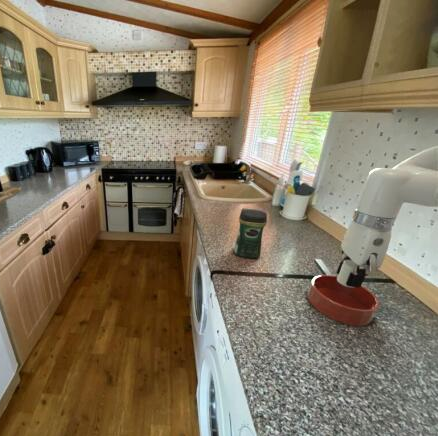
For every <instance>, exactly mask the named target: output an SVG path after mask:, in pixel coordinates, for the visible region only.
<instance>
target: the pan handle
mask: <svg viewBox="0 0 438 436" xmlns="http://www.w3.org/2000/svg"><path fill="white" fill-rule="evenodd" d="M313 263H314V264H315V266H316V267H317V269H318V270H319V271H320V273H321V275H332V276H334V274H333V273H332V272H331V270H330V269H329V268H328V267H327V265H326V264H325V263H324V261H323V260H322V259H320V258H314V260H313Z"/></svg>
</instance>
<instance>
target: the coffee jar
mask: <svg viewBox="0 0 438 436" xmlns="http://www.w3.org/2000/svg"><path fill="white" fill-rule="evenodd" d="M238 221H239V228H238V232H237V236H236V240H235V242H234V243H235V244H234V247H233V249H234V253H235V255H237V256H239V257H243V258H249V259H258V258H259V257H261V252H262V240H263V232H264V229H265V227H266V226H267V222H268V213H267V211H266V210H265V209H255V208H245V207H243V208H242V209H241V210H240V214H239V216H238Z"/></svg>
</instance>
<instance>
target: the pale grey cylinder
mask: <svg viewBox="0 0 438 436" xmlns="http://www.w3.org/2000/svg"><path fill="white" fill-rule="evenodd" d="M354 264H355V262H354V261H353V260H344V262H343V265H342V267H341V270H340V272H339V275H338V274H337V276H338V277H337V281H338V282H339V283H340V284H342V285H344V286H347V285H346V282H347V279H348V277H349V275H350V272H352V273H353V268H354ZM360 269H364V267H362V266H359V270H360ZM347 287H351V286H347ZM352 288H354V287H352Z"/></svg>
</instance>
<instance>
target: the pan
mask: <svg viewBox="0 0 438 436" xmlns="http://www.w3.org/2000/svg"><path fill="white" fill-rule="evenodd" d="M337 277H338V275H333V276H332V275H323V274H320V275H315V276H314V277H313V278H312V279H311V282H310V285H309V287H308V291H307V300H308V301H309V303H310V304H311V306H312V307H313V308H314V309H315V310H317V311H318V312H320V313H321V315H324V316H325V317H327V318H329V319H331V320H334V321H336V322H338V323H342V324H344V325H349V326H355V327H363V326H368V325H369V324H371V323H372V322H373V320H374V318H375V316H376V314H377V312H378V310H379V307H380V306H381V303H380V301H379V298H378V297H377V296H376V295H375V294H374V293H373V292H372V290H371V291H370V290H369V289H368V288H366V287H365V286H363V285H361V287H359V288H358V287H354V288H352V287H347V286H344V285H342V284H340V283H339V282H338V281H337Z"/></svg>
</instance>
